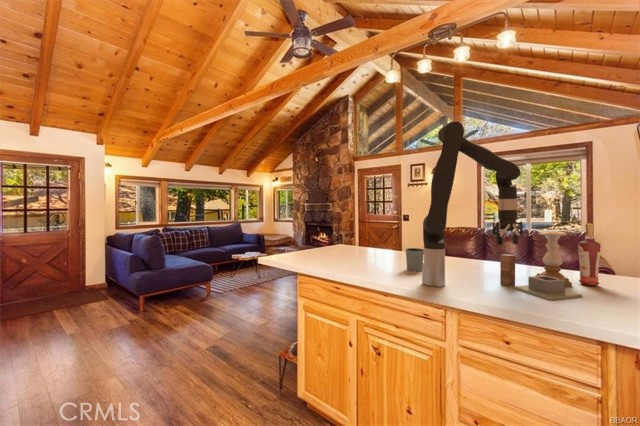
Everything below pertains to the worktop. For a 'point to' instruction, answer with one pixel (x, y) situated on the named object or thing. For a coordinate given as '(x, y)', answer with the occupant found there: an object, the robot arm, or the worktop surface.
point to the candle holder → (553, 257)
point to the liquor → (589, 258)
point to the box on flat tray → (547, 288)
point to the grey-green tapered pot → (414, 259)
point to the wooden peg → (507, 270)
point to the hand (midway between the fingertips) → (507, 244)
